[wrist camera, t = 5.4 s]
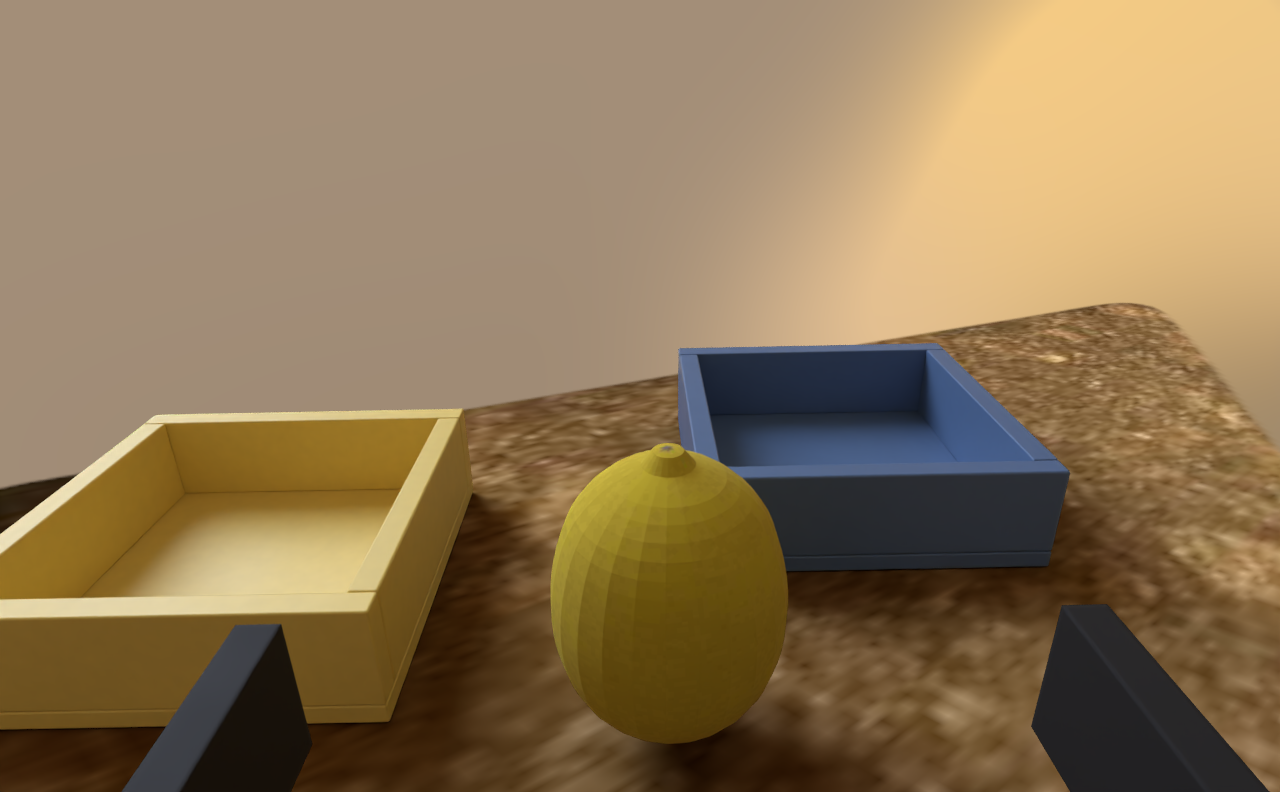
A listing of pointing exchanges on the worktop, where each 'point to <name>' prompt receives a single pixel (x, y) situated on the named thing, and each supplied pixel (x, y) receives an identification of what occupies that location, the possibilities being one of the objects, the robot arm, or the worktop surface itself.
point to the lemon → (669, 595)
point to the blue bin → (874, 455)
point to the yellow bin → (232, 563)
